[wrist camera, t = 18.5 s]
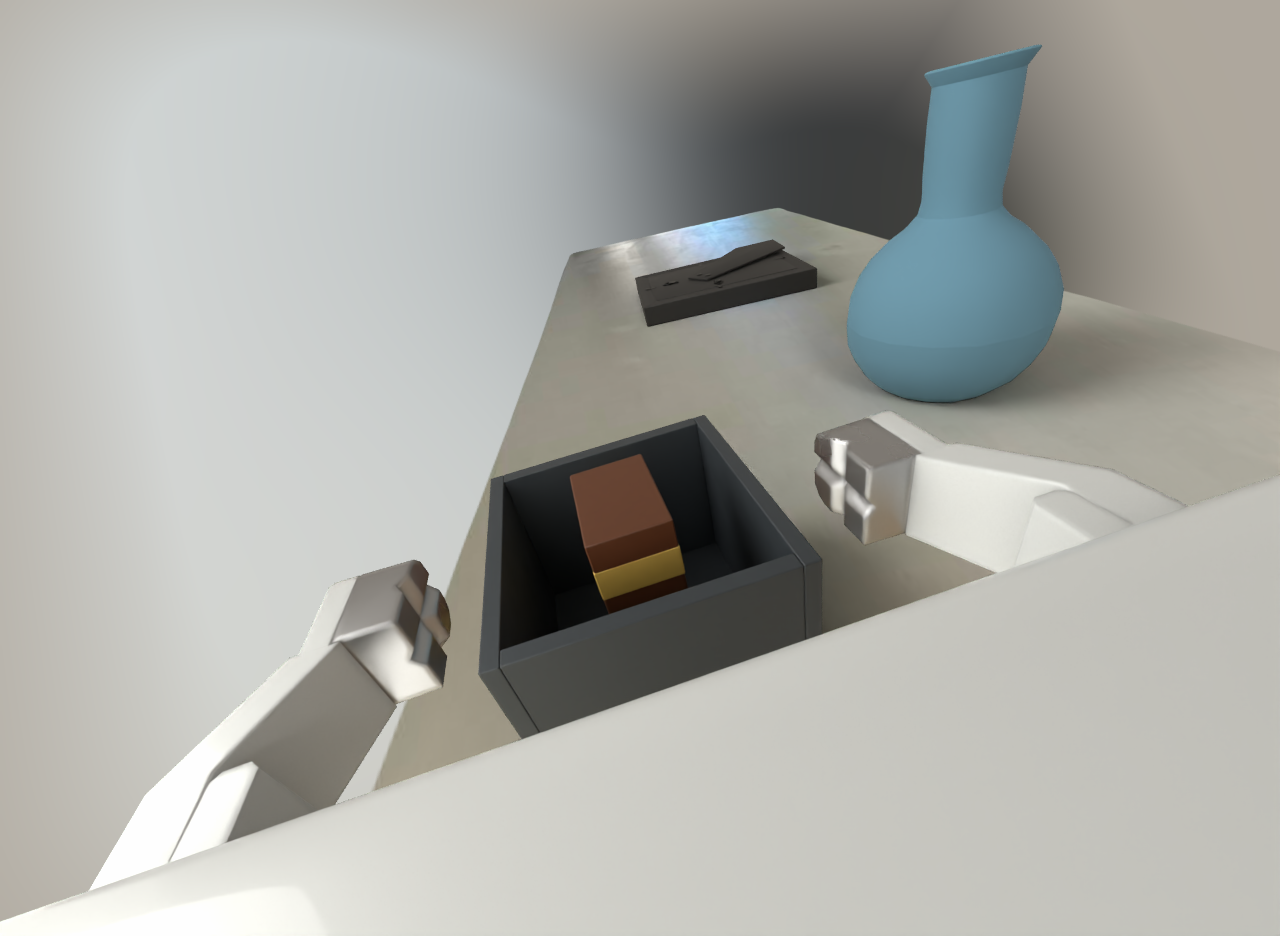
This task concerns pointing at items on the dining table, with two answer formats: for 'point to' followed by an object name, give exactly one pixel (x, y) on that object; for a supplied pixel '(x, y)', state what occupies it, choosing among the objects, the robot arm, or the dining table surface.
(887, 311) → the vase
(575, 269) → the dining table surface
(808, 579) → the gray open box
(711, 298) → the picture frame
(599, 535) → the chocolate box
